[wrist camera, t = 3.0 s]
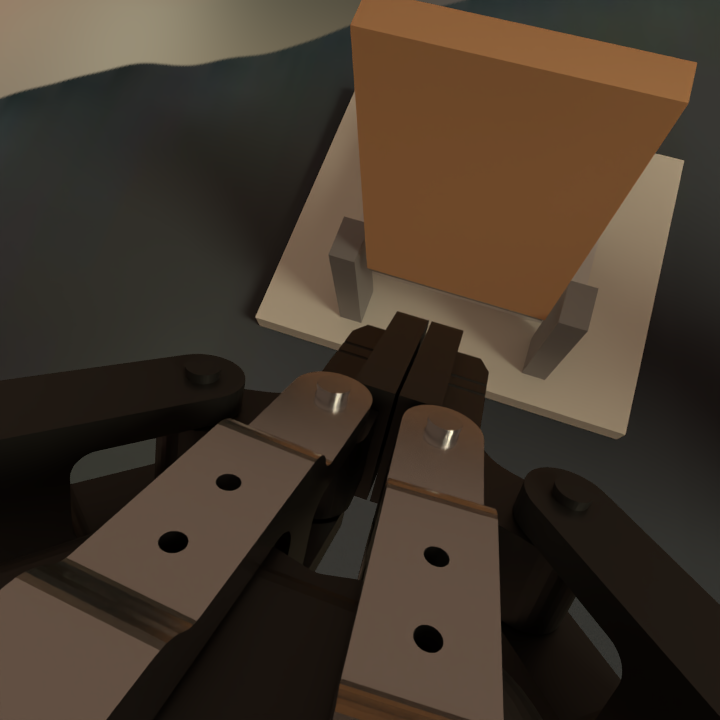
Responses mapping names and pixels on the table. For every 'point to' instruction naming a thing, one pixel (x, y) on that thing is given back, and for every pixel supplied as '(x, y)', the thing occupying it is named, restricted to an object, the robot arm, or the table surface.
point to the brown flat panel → (498, 147)
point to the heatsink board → (480, 321)
